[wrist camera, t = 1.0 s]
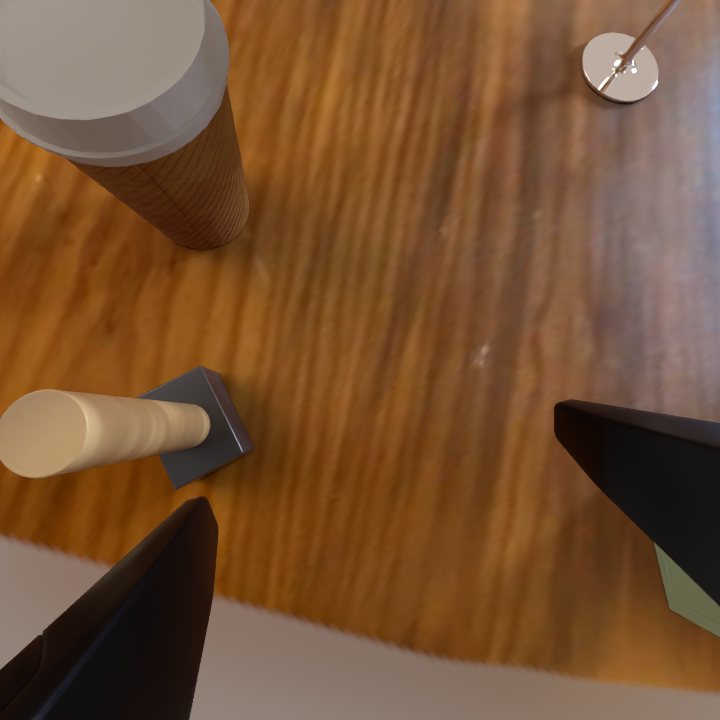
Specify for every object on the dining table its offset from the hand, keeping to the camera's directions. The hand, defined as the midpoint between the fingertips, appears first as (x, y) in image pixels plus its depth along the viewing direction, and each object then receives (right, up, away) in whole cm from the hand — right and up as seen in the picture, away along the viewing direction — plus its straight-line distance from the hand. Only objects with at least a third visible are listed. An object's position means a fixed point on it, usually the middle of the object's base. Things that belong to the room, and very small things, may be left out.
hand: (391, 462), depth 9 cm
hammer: (-10, -2, +14) cm, 17 cm away
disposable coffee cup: (-12, +13, +16) cm, 24 cm away
